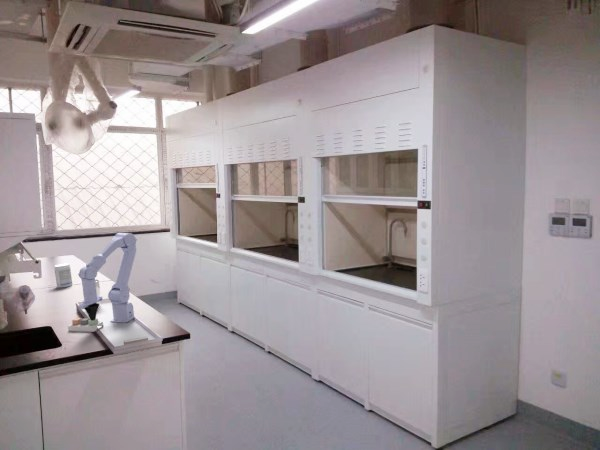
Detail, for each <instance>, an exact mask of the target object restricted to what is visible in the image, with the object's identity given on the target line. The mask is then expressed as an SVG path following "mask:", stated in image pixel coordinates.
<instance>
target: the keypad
mask: <svg viewBox="0 0 600 450" xmlns="http://www.w3.org/2000/svg"><path fill="white" fill-rule="evenodd" d="M102 325H103V326H104V322H103V321H98V324H96V325H89V324H88V325H81V324H79V325H73V324H72V323H71V324H69V325H67V330H68V332H89V333H90V332H91V333H92V332H96V331H97V330H96V329H97V326H102Z"/></svg>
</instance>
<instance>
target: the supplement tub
mask: <svg viewBox="0 0 600 450" xmlns="http://www.w3.org/2000/svg"><path fill="white" fill-rule="evenodd" d="M53 266H54V274H55V282H56V287H57V288H59V289H61V288H67V287H71V286H72V285H73V280H72V272H71V266H70V263H61V264H56V265H53Z"/></svg>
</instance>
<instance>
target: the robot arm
mask: <svg viewBox="0 0 600 450" xmlns="http://www.w3.org/2000/svg"><path fill="white" fill-rule="evenodd" d="M137 239H138V238H136V236H135V234H133V233H131V232H130V233H128V232H126V233H125V232H124V233H123V232H118V233H116V234H115V235H114V236H113V237H112V239H111V240H110V242H109V243H108V244H107V246H105V248H104V249H103V250H102V251H101V252H100V254H96V255H93V257H92V259H91V260H89V262H88V263H86V265H85V266H82V267H81V268H80V270H79V273H78V274H77V275H78V277H79V278H80V279H81V284H82V294H83V300H82V302H81V304H78V309H79V310H85V312H86V314H87V315H88V318H90V320H95V319H97V312H98V309H99V308H100V307H99V304H96V303H97V302H99V301H100V302H102V301H103V296H100V297H97V293H96V284H95V280H96V278H97V276H98V272H99V271H100V269H101V268H103V266H105V264H106V263H107V259H108V257H109V256H110V255H112V254H113V253H114V252H115V251H116V250H117V249H119V248H120V249H121V250H122V252H123V256H122V260H121V263H120V267H119V271H118V275H117V279H116V282H115V283H114V284H112V286H111V288H110V290H108V294H107V297H108V300H109V301H110V302H111V307H112V316H113V317H112V318H113V319H111V320H110V321H109V322H110V323H112V322H113V323H127V322H130V321H131V320H133V319H135V318H136V316H135V313H134V312H135V311H134V305H133V303H132V302H128V301H129V300H130V287H129V285H128V284H129V279H130V276H131V273H132V269H133V266H134V262H135V258H136V254H137V245H136V244H137ZM98 307H99V308H98Z"/></svg>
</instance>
